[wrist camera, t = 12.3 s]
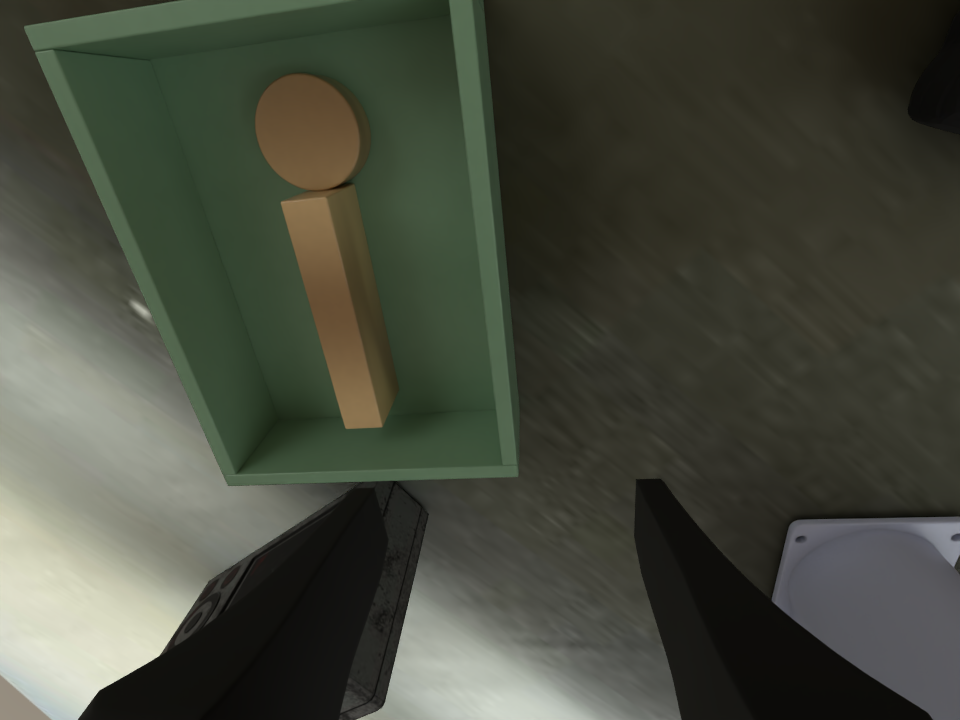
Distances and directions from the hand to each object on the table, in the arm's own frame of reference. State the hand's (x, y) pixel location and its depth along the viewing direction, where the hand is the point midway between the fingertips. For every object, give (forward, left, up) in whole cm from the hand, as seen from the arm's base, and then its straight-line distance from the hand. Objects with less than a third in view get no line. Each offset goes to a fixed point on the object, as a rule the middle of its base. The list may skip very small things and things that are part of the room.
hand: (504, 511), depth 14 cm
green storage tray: (+5, +6, -9) cm, 12 cm away
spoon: (+5, +6, -9) cm, 12 cm away
